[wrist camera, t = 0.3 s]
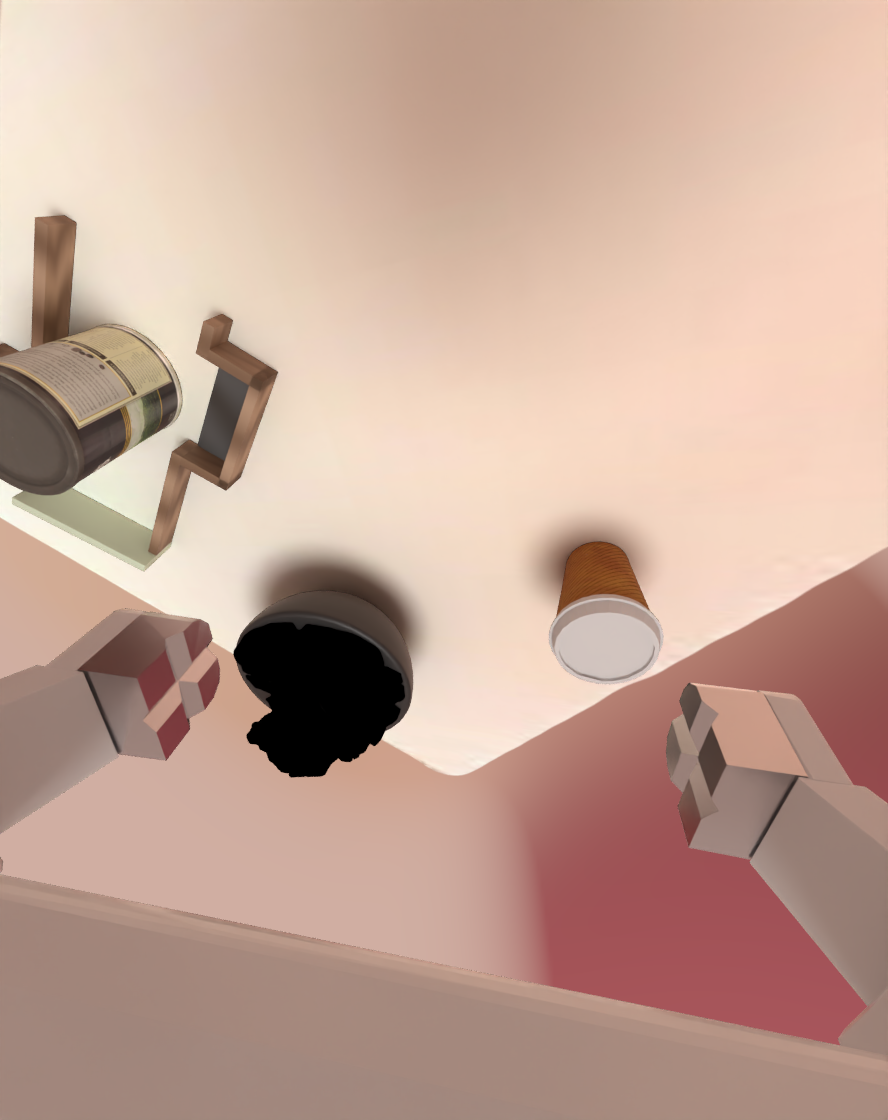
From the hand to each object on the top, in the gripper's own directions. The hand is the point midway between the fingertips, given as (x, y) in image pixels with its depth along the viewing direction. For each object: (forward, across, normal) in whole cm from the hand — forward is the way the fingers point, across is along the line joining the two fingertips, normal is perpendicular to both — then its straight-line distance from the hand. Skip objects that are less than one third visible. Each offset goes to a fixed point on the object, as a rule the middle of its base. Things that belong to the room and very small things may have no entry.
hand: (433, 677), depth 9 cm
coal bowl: (+43, +17, +33) cm, 57 cm away
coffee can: (+40, +37, +4) cm, 55 cm away
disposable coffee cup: (+42, -10, +20) cm, 47 cm away
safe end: (+42, +46, +21) cm, 65 cm away
